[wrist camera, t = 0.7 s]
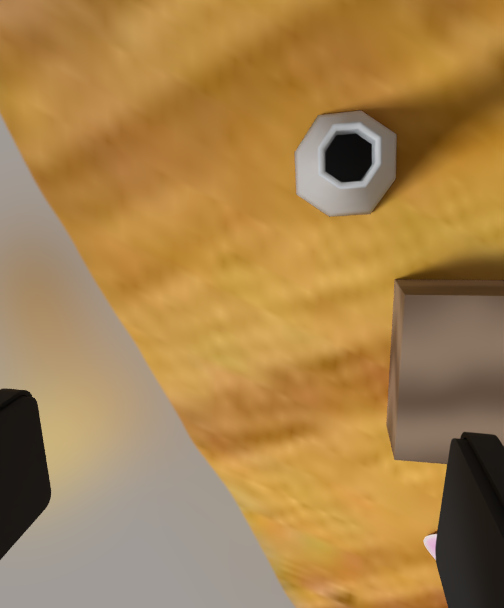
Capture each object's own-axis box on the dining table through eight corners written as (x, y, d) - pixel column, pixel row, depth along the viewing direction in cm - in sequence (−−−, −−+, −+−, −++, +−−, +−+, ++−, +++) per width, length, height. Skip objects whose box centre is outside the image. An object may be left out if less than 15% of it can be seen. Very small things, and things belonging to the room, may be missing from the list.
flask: (309, 98, 29) (297, 56, 20) (414, 124, 28) (454, 92, 19) (281, 203, 31) (258, 210, 22) (378, 229, 31) (398, 248, 21)
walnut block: (394, 278, 32) (404, 294, 27) (575, 279, 29) (621, 297, 25) (386, 422, 35) (394, 459, 30) (549, 433, 32) (586, 475, 28)
